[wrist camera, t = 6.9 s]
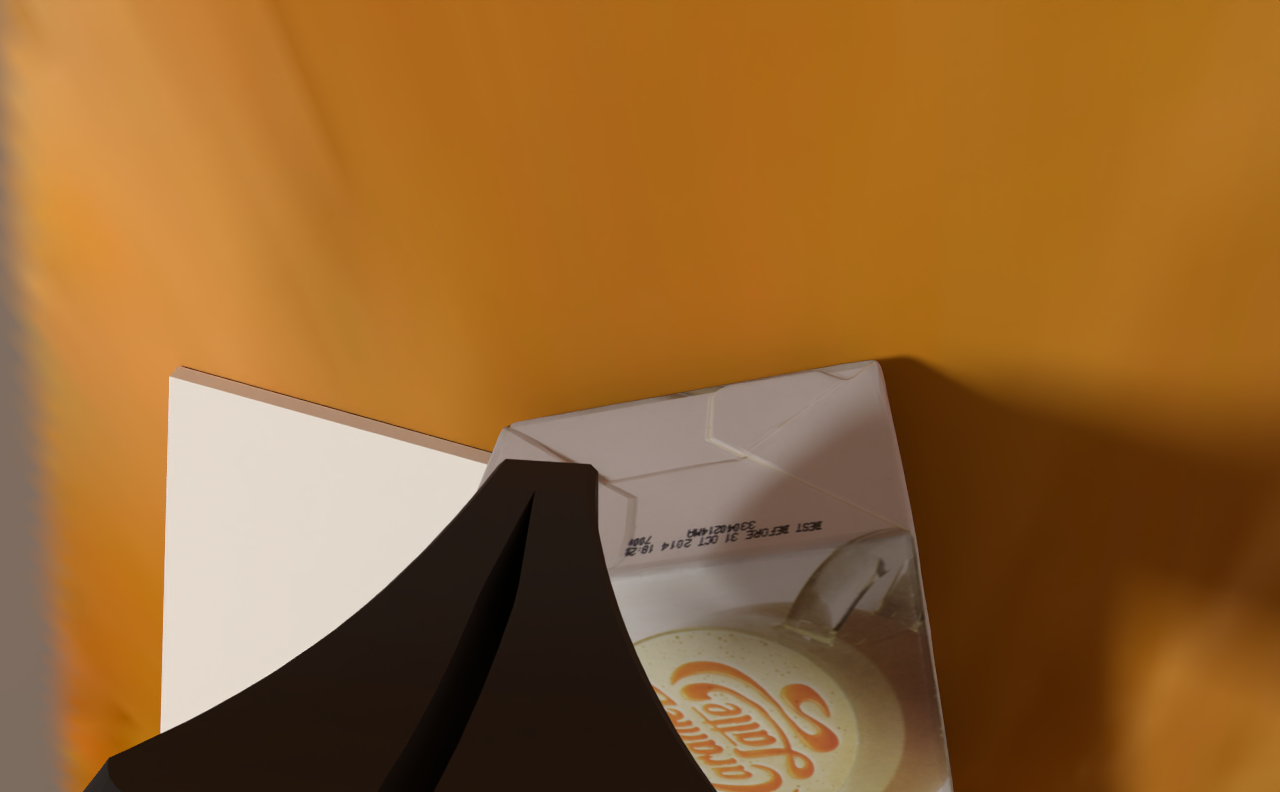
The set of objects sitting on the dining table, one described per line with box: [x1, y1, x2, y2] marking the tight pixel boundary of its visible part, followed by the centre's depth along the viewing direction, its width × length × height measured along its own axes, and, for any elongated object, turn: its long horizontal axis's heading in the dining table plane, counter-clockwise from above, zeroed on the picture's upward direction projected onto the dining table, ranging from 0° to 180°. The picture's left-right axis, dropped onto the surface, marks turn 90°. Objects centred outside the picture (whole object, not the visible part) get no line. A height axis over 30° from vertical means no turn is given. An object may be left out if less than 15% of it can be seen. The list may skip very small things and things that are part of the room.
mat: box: [161, 366, 492, 733], centre depth 29 cm, size 16×18×1 cm
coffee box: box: [477, 360, 954, 792], centre depth 23 cm, size 9×6×16 cm
